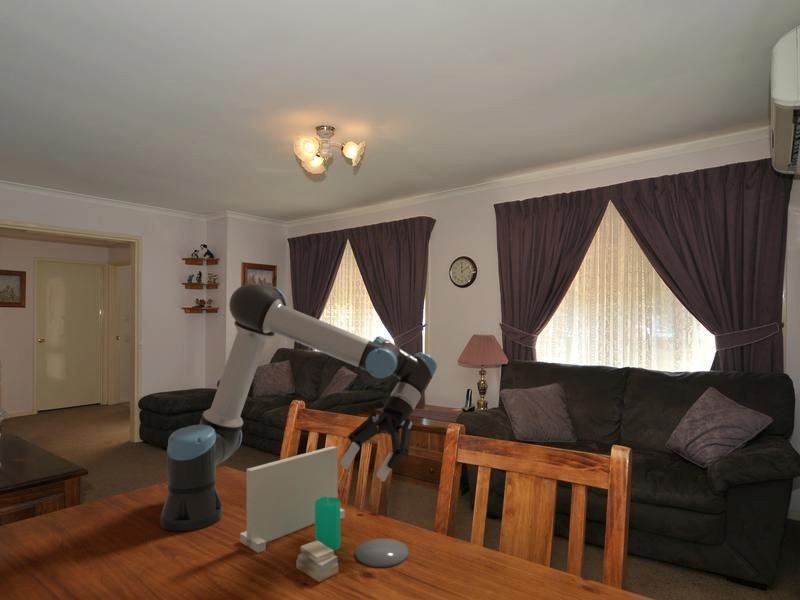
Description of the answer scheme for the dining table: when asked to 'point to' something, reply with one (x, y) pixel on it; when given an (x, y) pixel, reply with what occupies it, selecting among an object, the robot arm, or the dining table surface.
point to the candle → (328, 522)
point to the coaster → (381, 552)
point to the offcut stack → (317, 561)
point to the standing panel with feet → (287, 495)
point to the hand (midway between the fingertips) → (360, 472)
